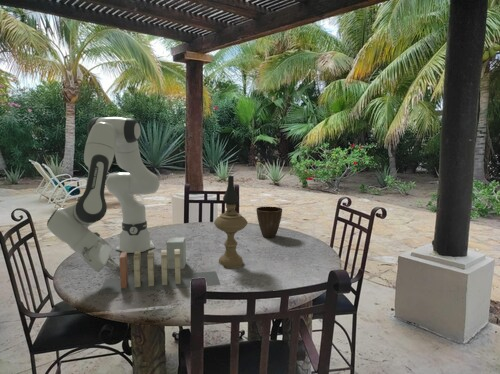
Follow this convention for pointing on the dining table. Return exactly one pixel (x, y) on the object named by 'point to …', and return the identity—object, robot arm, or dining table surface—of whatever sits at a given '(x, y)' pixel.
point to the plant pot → (269, 220)
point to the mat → (157, 283)
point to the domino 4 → (164, 266)
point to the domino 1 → (123, 270)
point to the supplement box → (171, 245)
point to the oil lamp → (230, 227)
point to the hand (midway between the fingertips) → (116, 267)
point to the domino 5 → (177, 266)
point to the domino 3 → (151, 268)
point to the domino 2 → (137, 269)
